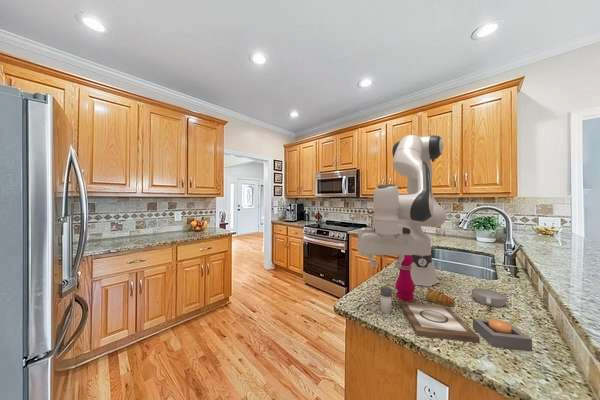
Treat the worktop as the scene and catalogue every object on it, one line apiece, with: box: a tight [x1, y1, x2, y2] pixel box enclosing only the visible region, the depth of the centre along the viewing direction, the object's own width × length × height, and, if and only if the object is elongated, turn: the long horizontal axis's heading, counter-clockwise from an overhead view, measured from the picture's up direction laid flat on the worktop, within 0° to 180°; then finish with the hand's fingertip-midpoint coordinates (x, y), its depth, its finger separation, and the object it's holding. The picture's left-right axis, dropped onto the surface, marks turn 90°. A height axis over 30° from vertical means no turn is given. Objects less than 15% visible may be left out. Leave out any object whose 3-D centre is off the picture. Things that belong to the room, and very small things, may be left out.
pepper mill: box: [395, 255, 416, 302], centre depth 89 cm, size 7×7×20 cm
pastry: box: [425, 289, 455, 307], centre depth 85 cm, size 9×7×4 cm
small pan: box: [471, 287, 508, 308], centre depth 83 cm, size 11×18×4 cm, turn 139°
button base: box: [472, 317, 533, 352], centre depth 62 cm, size 9×9×3 cm
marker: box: [379, 286, 393, 315], centre depth 77 cm, size 4×4×8 cm
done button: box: [488, 318, 512, 334], centre depth 62 cm, size 5×5×2 cm
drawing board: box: [399, 301, 481, 344], centre depth 71 cm, size 19×16×2 cm
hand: (385, 267), depth 77 cm, fingers open, 8 cm apart
